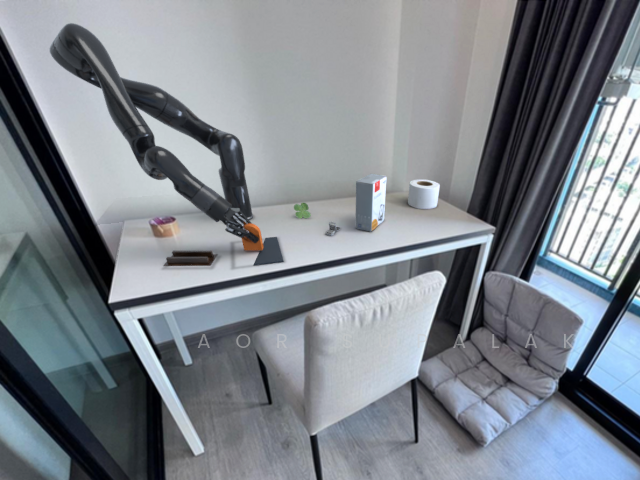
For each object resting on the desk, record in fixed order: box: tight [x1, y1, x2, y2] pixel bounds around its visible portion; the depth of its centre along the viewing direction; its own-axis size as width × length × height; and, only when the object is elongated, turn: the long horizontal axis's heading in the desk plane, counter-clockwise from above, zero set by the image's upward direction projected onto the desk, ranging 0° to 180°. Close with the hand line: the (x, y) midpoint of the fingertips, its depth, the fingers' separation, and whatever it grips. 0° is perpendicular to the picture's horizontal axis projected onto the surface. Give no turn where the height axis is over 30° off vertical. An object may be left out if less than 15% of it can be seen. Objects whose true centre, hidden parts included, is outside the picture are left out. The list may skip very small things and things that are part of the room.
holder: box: [162, 250, 219, 267], centre depth 106 cm, size 14×8×3 cm, turn 98°
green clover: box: [293, 202, 312, 219], centre depth 146 cm, size 7×8×6 cm
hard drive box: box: [355, 173, 387, 232], centre depth 138 cm, size 16×8×20 cm, turn 161°
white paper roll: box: [407, 179, 441, 210], centre depth 168 cm, size 16×15×11 cm
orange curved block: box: [241, 222, 264, 251], centre depth 111 cm, size 6×2×9 cm, turn 98°
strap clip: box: [325, 221, 341, 237], centre depth 133 cm, size 8×3×4 cm, turn 165°
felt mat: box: [252, 236, 285, 267], centre depth 115 cm, size 20×16×1 cm
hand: (258, 239), depth 112 cm, fingers closed on orange curved block, 2 cm apart
